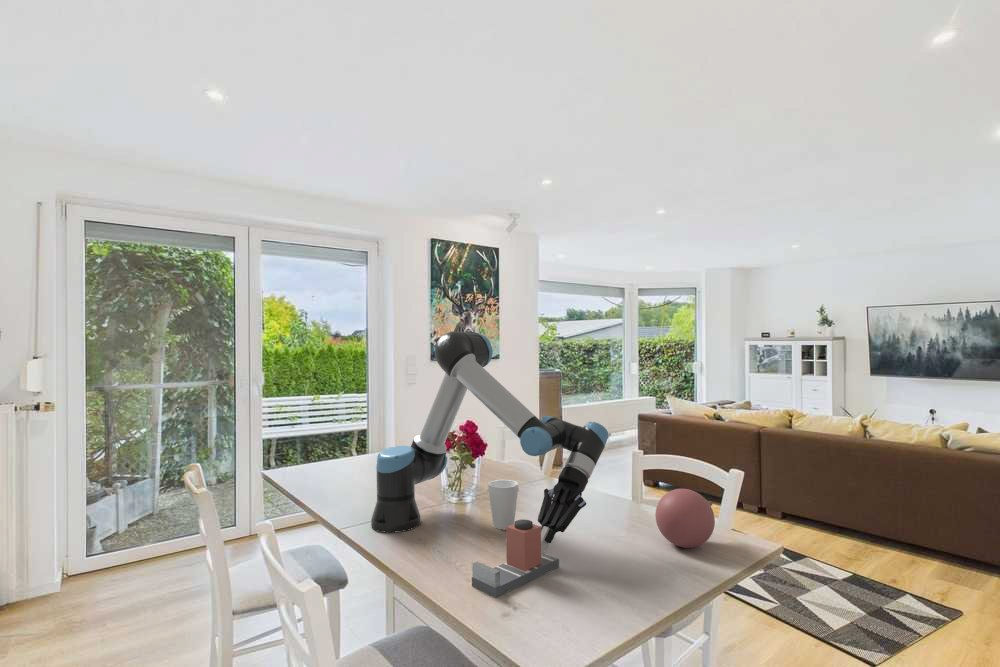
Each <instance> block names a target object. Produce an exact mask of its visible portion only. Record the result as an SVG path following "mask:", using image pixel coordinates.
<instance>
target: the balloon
mask: <svg viewBox="0 0 1000 667" xmlns="http://www.w3.org/2000/svg"><path fill="white" fill-rule="evenodd" d="M712 506H713V502H711V501H708V500H707V499H706V498H705V497H704V496H703V495H702V494H700V493H699V492H697V491H694V490H692V489H688V488H675V489H673V490H669V491H668V492H666V493H665V494H664V495H662V496H661V498H660V499H659V501H658V502H657V505H656V509H655V522H656V526H657V528H658V530H659V532H660V533H661V535H662V536H663V538H664V539H666V541H668V542H670V543H671V544H672V545H674V546H677V547H681V548H684V549H685V548H686V549H689V548H690V549H691V548H692V549H693V548H697V547H699V546H701V545H703V544H705V543H706V542H707V541H709V539H710V538H711V537H712V534H713V533H714V529H715V525H716V524H715V523H716V518H715V514H714V510H713V508H712Z"/></svg>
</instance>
